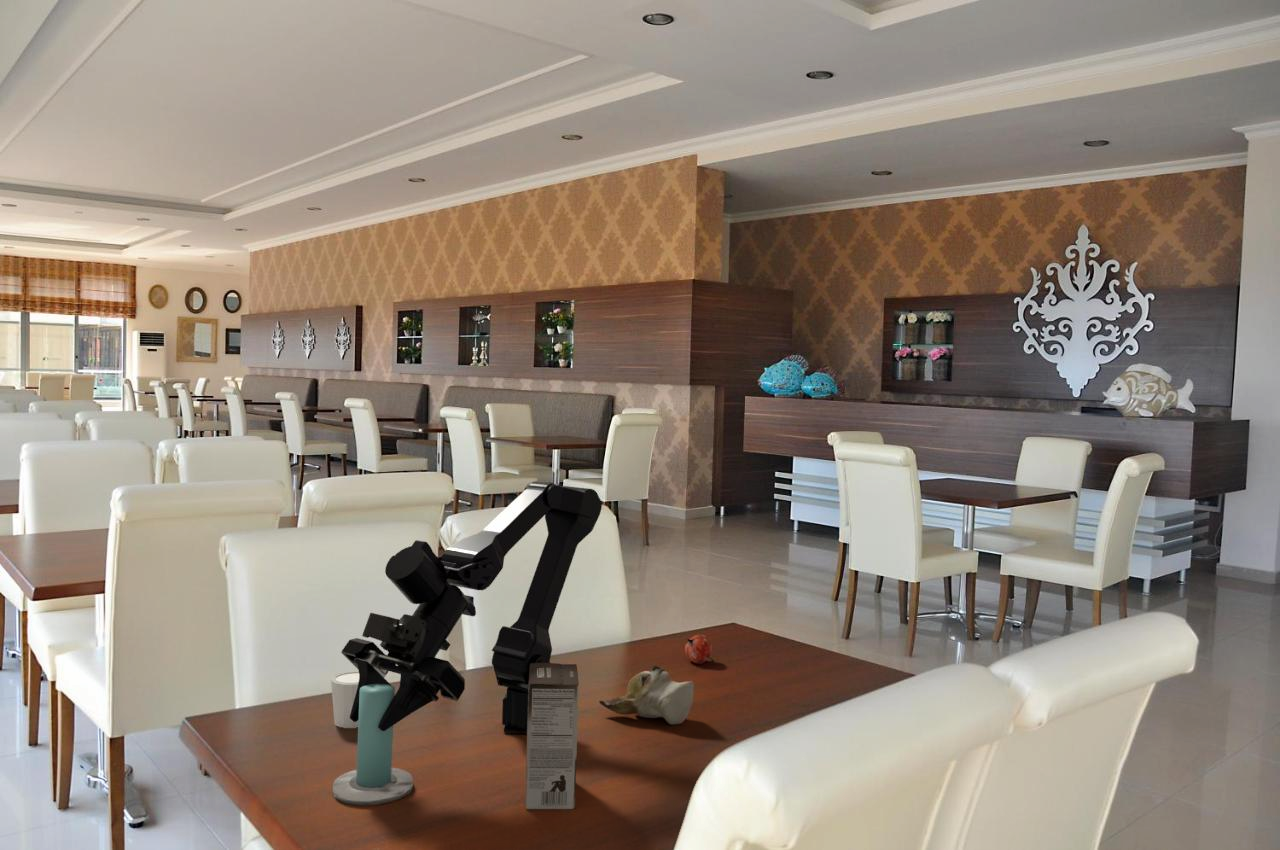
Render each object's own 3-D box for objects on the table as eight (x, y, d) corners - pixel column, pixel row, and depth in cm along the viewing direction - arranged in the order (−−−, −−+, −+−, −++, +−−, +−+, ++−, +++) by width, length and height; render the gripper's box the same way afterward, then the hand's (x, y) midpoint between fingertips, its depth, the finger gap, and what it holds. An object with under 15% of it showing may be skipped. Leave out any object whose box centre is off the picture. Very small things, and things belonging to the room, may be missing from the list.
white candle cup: (363, 731, 149) (364, 685, 148) (321, 727, 150) (322, 681, 150) (383, 717, 155) (384, 673, 155) (343, 712, 157) (344, 669, 156)
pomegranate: (700, 665, 196) (672, 644, 194) (718, 644, 196) (690, 622, 194) (709, 677, 191) (680, 655, 188) (727, 654, 191) (699, 632, 189)
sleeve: (389, 772, 130) (393, 683, 130) (392, 785, 126) (396, 692, 126) (355, 775, 129) (358, 684, 129) (357, 788, 125) (360, 694, 124)
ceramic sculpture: (674, 678, 151) (596, 666, 159) (675, 735, 151) (596, 720, 159) (709, 664, 160) (633, 654, 168) (710, 718, 160) (633, 704, 168)
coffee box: (526, 781, 132) (529, 662, 131) (574, 781, 132) (577, 662, 132) (524, 810, 123) (527, 682, 122) (575, 810, 123) (579, 682, 123)
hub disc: (420, 775, 133) (420, 767, 133) (402, 806, 123) (402, 798, 123) (346, 772, 133) (346, 764, 133) (322, 804, 123) (322, 795, 123)
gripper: (353, 579, 135) (283, 677, 127) (451, 599, 125) (381, 707, 116) (396, 625, 142) (332, 721, 133) (492, 648, 132) (429, 753, 123)
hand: (366, 724), depth 126 cm, fingers open, 5 cm apart
